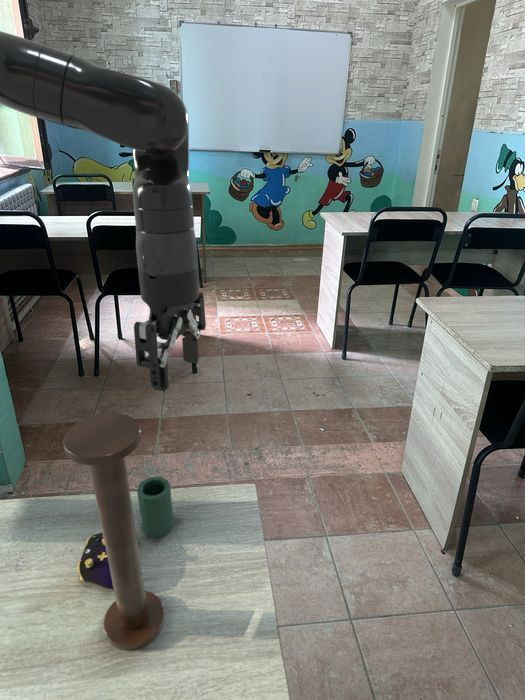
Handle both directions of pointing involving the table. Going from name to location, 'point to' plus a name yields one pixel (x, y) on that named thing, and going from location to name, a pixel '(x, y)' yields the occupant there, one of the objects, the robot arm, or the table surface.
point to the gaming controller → (95, 563)
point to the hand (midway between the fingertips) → (176, 374)
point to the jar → (155, 506)
